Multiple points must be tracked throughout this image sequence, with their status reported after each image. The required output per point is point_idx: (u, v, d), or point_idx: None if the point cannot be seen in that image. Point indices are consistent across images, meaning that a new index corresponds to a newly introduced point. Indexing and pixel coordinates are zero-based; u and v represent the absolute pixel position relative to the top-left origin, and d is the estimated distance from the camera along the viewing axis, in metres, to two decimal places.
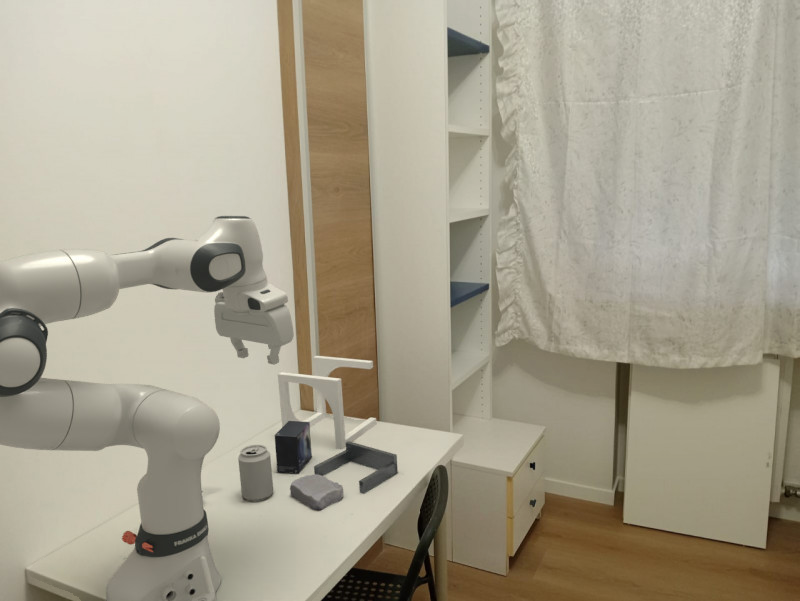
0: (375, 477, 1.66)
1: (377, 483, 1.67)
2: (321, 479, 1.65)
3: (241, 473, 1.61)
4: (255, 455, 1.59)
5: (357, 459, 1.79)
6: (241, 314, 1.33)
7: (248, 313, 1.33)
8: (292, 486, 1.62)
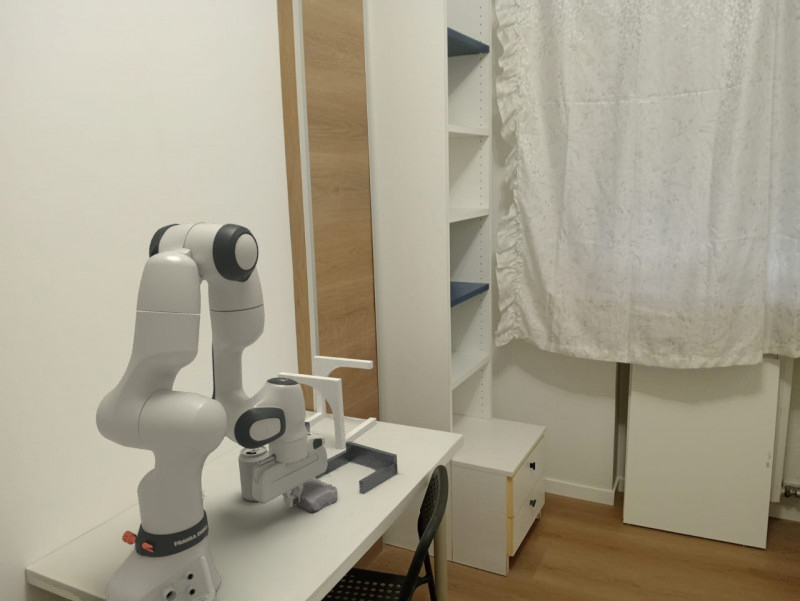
0: (375, 477, 1.66)
1: (377, 483, 1.67)
2: (315, 481, 1.64)
3: (241, 473, 1.61)
4: (255, 455, 1.59)
5: (357, 459, 1.79)
6: (302, 461, 1.53)
7: (303, 458, 1.54)
8: None
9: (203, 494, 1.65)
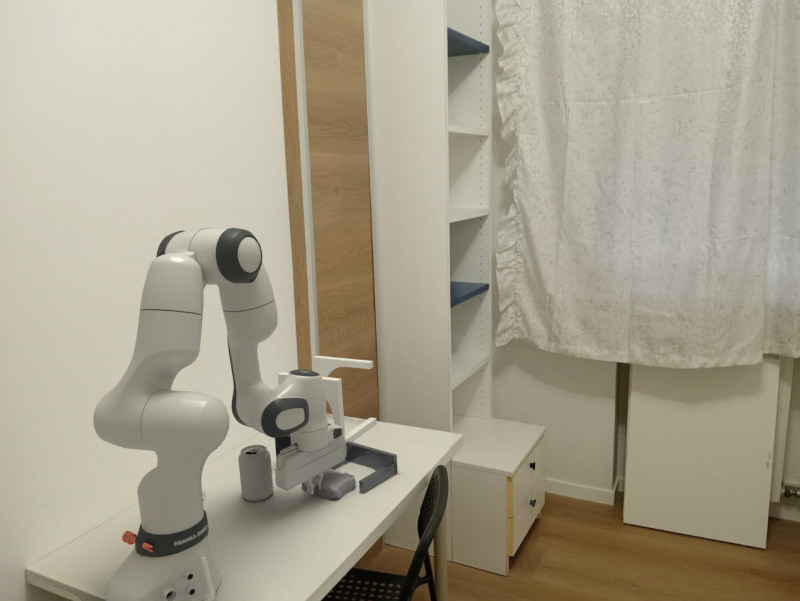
0: (375, 477, 1.66)
1: (377, 483, 1.67)
2: (330, 471, 1.69)
3: (241, 473, 1.61)
4: (255, 455, 1.59)
5: (357, 459, 1.79)
6: (323, 450, 1.58)
7: (324, 447, 1.59)
8: None
9: (204, 494, 1.65)
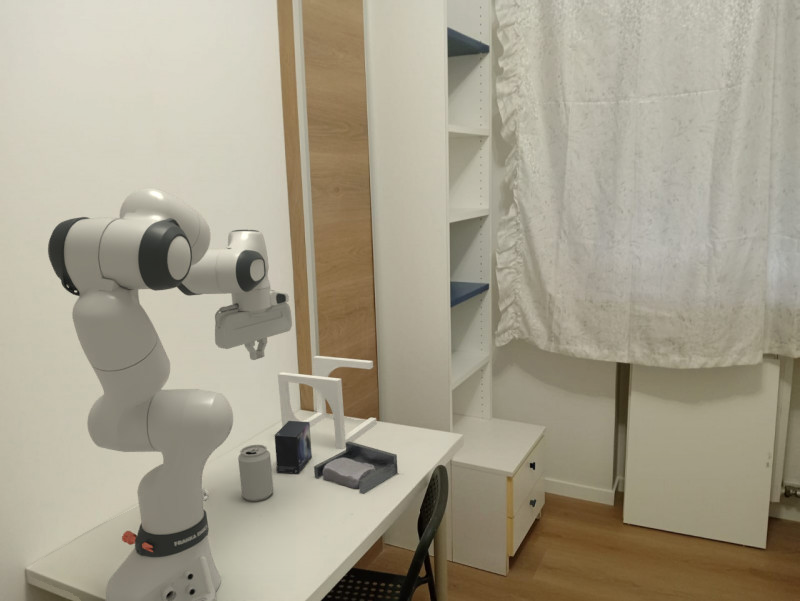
0: (375, 477, 1.66)
1: (377, 483, 1.67)
2: (350, 461, 1.74)
3: (241, 473, 1.61)
4: (255, 455, 1.59)
5: (357, 459, 1.79)
6: (265, 313, 1.55)
7: (267, 311, 1.57)
8: (326, 469, 1.70)
9: (207, 493, 1.65)
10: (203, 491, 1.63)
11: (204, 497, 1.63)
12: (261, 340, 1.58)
